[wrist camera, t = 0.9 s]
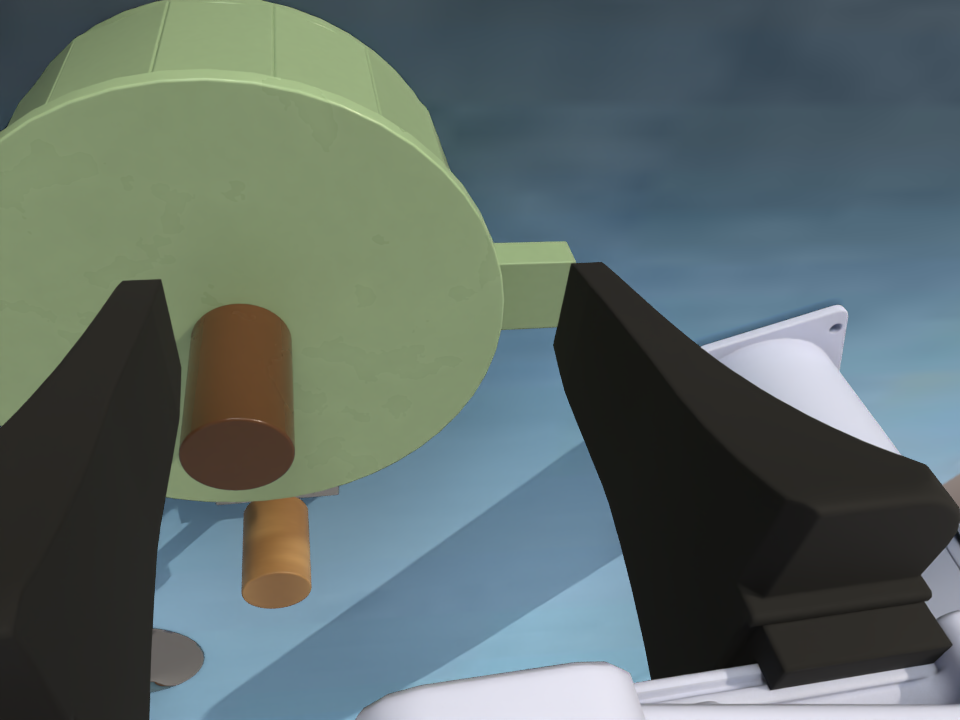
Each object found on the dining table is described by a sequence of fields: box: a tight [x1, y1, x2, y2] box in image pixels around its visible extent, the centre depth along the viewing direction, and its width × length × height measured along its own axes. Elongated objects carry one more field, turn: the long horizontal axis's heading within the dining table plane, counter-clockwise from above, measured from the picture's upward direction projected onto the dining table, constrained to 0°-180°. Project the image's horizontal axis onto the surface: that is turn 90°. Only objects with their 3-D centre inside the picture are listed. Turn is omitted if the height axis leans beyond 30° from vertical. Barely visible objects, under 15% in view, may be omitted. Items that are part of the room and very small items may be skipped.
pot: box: [7, 0, 576, 330], centre depth 22 cm, size 12×18×6 cm
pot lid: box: [0, 69, 504, 502], centre depth 18 cm, size 13×13×5 cm
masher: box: [216, 486, 339, 609], centre depth 30 cm, size 5×4×6 cm
